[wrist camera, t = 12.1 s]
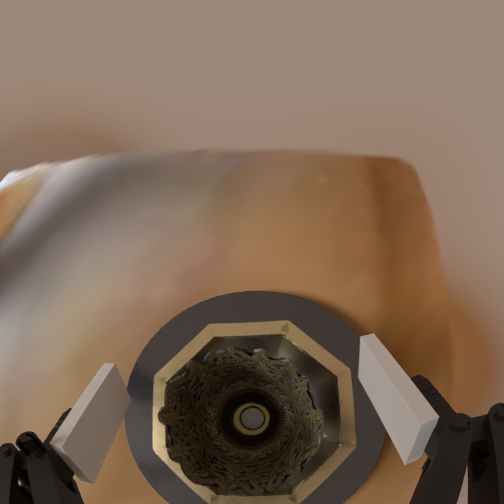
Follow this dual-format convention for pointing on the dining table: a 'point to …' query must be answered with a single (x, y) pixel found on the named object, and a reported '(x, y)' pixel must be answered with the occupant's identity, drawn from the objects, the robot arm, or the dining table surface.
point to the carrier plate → (278, 345)
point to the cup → (229, 423)
